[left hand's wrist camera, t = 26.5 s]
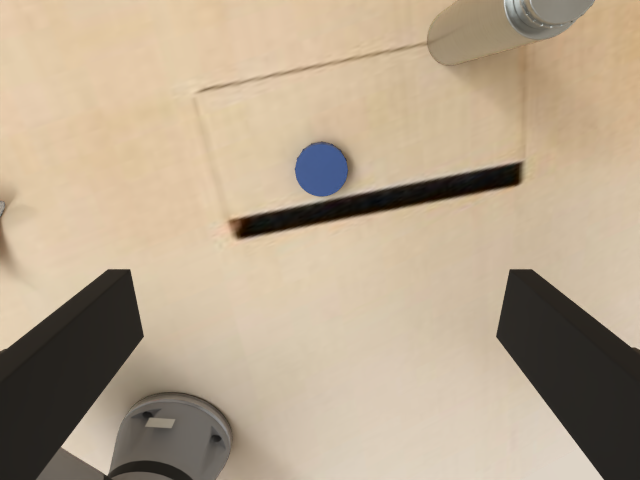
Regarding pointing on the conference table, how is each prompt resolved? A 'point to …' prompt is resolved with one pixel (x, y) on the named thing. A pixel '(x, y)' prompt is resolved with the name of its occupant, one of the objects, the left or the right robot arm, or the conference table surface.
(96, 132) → the conference table surface
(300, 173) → the lid
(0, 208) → the fish
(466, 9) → the jar
